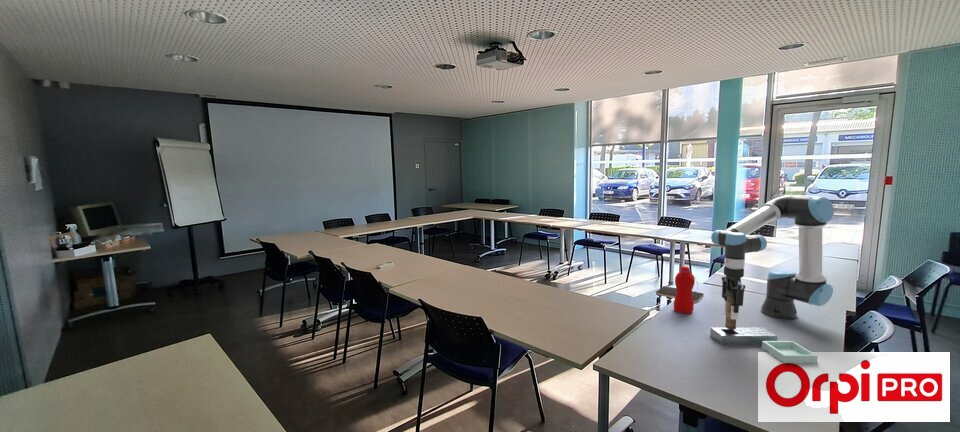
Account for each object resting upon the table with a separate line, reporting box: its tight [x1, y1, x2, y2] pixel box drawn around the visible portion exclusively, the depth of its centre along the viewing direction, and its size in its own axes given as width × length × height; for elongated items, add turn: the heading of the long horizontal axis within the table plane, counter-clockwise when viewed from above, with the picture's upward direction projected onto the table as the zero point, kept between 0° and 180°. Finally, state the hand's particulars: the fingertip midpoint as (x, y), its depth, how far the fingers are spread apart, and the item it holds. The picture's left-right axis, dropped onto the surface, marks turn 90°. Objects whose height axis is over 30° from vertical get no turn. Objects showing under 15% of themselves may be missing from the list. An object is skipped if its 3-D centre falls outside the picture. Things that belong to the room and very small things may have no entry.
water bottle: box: [673, 265, 699, 315], centre depth 208 cm, size 9×11×25 cm
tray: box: [761, 340, 819, 364], centre depth 160 cm, size 13×13×3 cm
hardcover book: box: [655, 285, 705, 304], centre depth 235 cm, size 16×23×2 cm
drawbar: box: [709, 326, 778, 346], centre depth 174 cm, size 24×9×4 cm, turn 87°
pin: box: [724, 289, 737, 329], centre depth 173 cm, size 5×5×18 cm
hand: (731, 316), depth 173 cm, fingers closed on pin, 4 cm apart
